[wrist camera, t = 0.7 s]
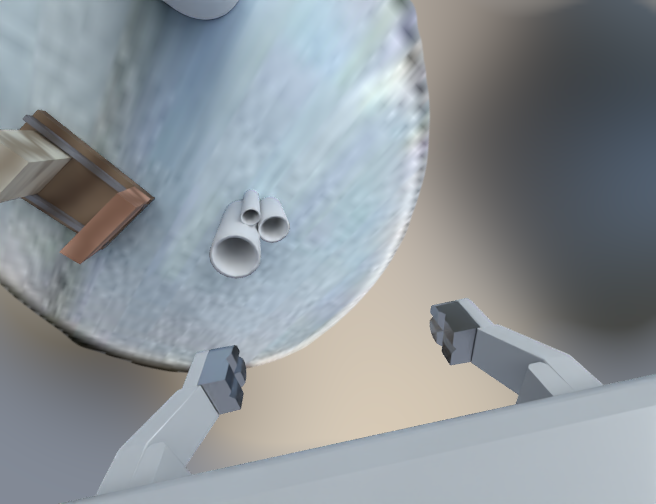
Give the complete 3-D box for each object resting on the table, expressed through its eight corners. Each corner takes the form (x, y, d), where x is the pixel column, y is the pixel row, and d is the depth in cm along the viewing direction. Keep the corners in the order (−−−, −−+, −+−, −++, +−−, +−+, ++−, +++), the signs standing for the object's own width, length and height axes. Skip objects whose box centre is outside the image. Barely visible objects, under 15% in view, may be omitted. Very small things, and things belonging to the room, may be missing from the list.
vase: (237, 238, 55) (230, 287, 37) (215, 208, 51) (195, 245, 34) (285, 211, 55) (301, 245, 37) (266, 179, 52) (273, 201, 34)
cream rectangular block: (1, 168, 40) (-62, 175, 32) (36, 130, 39) (-20, 128, 31) (38, 193, 42) (-12, 205, 34) (72, 157, 42) (28, 162, 34)
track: (-11, 170, 41) (-66, 177, 34) (44, 110, 40) (-1, 104, 33) (106, 246, 49) (81, 265, 42) (154, 198, 48) (137, 208, 41)
